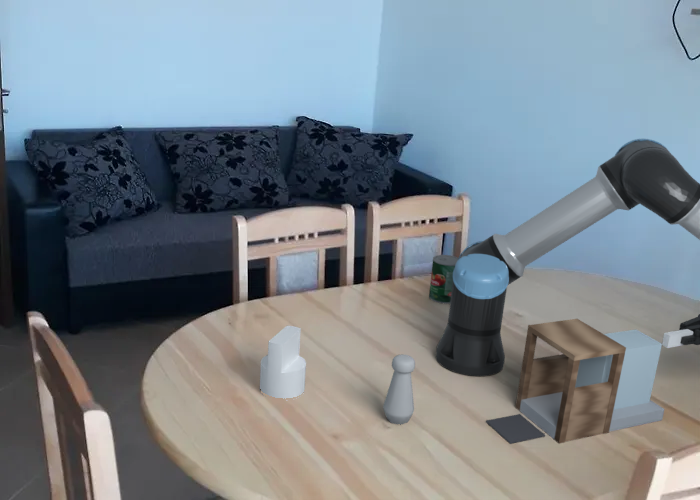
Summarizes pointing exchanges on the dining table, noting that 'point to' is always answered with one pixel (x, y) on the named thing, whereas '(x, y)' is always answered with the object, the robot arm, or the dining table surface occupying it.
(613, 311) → the dining table surface
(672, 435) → the dining table surface
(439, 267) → the canned tomato
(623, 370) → the block
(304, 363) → the cylinder with rectangular tab
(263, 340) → the dining table surface
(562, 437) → the tunnel
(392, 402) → the salt shaker
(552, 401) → the runway
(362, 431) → the dining table surface
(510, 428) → the dark grey square plate
